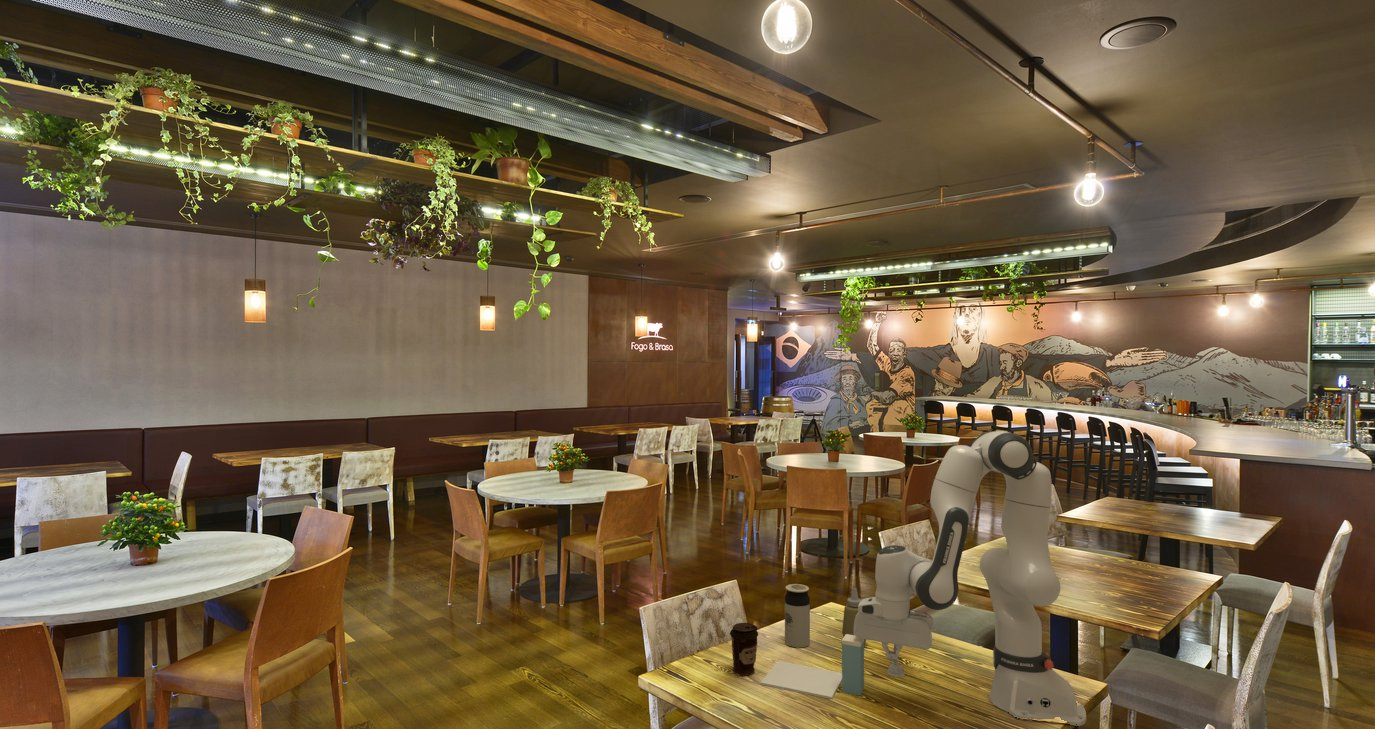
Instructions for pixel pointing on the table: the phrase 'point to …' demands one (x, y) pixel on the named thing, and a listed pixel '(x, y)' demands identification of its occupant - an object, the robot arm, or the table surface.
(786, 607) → the travel mug
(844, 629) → the squeeze bottle
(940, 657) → the table surface
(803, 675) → the mat
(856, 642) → the long block
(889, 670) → the chalice
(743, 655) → the coffee cup
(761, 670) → the table surface
